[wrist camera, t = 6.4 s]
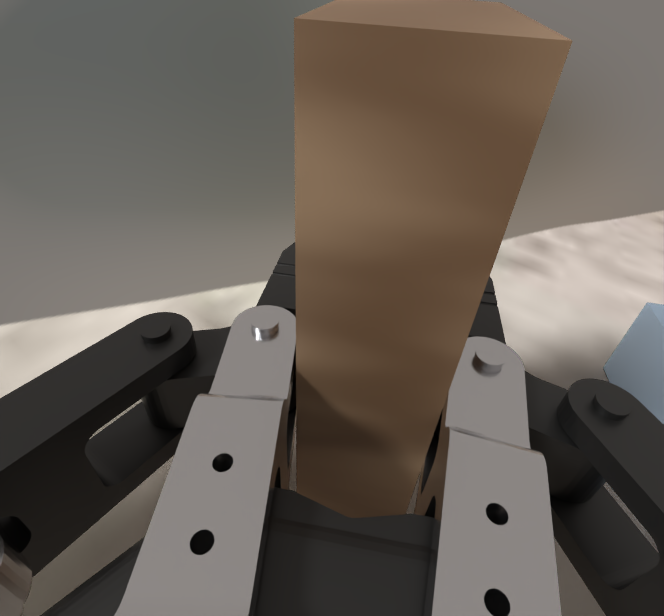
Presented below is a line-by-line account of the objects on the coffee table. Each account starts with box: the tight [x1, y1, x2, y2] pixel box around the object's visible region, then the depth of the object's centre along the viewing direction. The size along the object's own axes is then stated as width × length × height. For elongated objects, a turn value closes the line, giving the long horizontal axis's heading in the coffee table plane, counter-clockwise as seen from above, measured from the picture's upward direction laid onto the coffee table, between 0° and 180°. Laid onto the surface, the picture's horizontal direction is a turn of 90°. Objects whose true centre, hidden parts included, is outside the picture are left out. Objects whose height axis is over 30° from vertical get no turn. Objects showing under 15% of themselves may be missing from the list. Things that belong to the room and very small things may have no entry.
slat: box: [294, 0, 572, 518], centre depth 10 cm, size 2×4×14 cm, turn 170°
